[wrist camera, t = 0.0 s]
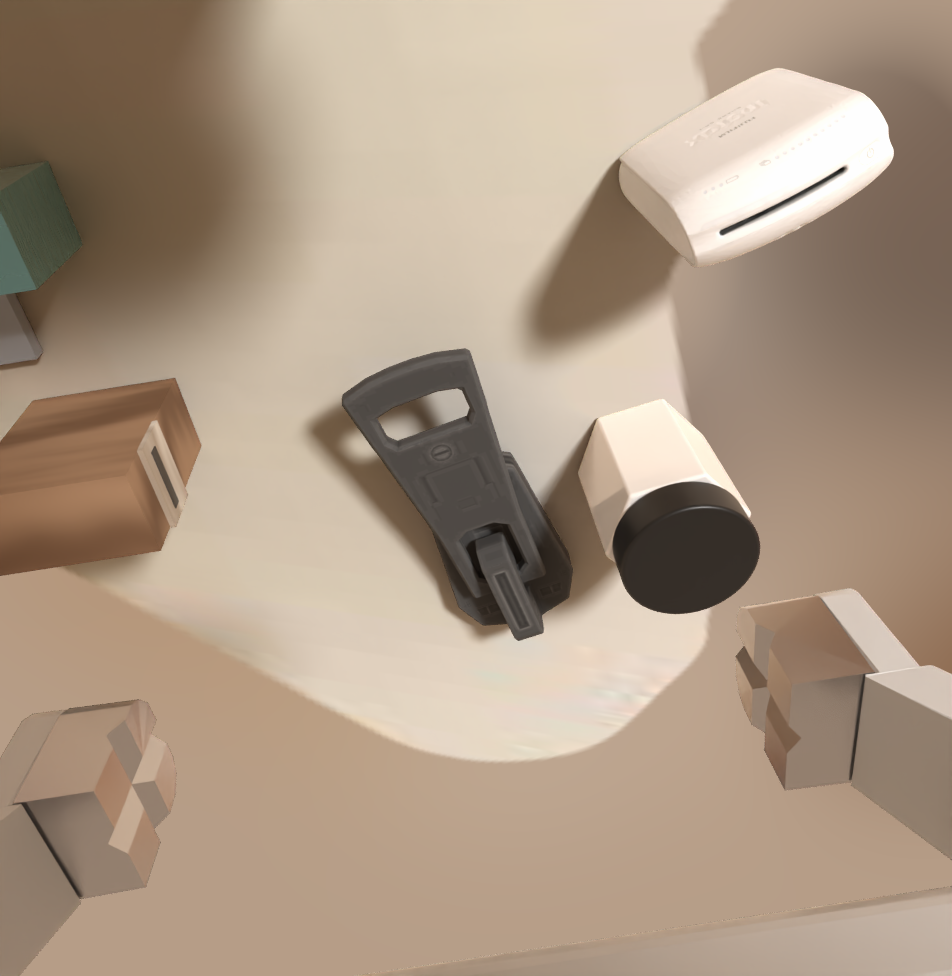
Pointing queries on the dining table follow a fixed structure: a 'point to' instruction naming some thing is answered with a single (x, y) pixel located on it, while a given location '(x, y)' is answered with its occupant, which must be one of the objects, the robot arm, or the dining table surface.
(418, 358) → the zipper pull
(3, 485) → the block
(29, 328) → the felt pad
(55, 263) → the block
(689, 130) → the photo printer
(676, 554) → the jar
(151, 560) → the dining table surface
